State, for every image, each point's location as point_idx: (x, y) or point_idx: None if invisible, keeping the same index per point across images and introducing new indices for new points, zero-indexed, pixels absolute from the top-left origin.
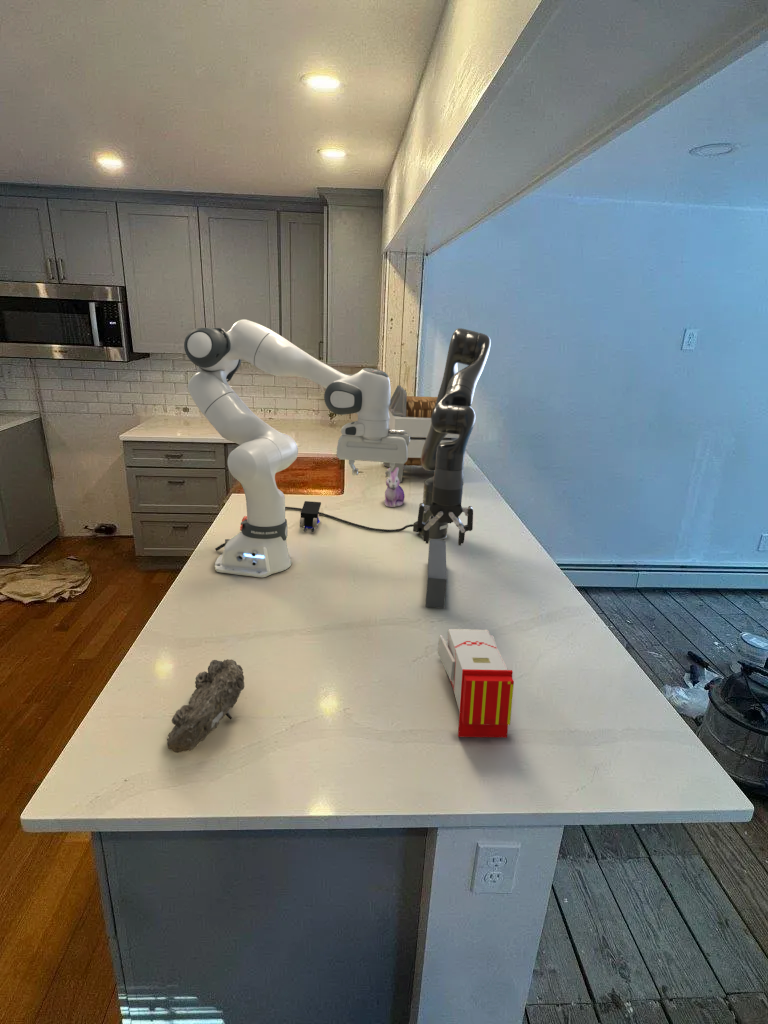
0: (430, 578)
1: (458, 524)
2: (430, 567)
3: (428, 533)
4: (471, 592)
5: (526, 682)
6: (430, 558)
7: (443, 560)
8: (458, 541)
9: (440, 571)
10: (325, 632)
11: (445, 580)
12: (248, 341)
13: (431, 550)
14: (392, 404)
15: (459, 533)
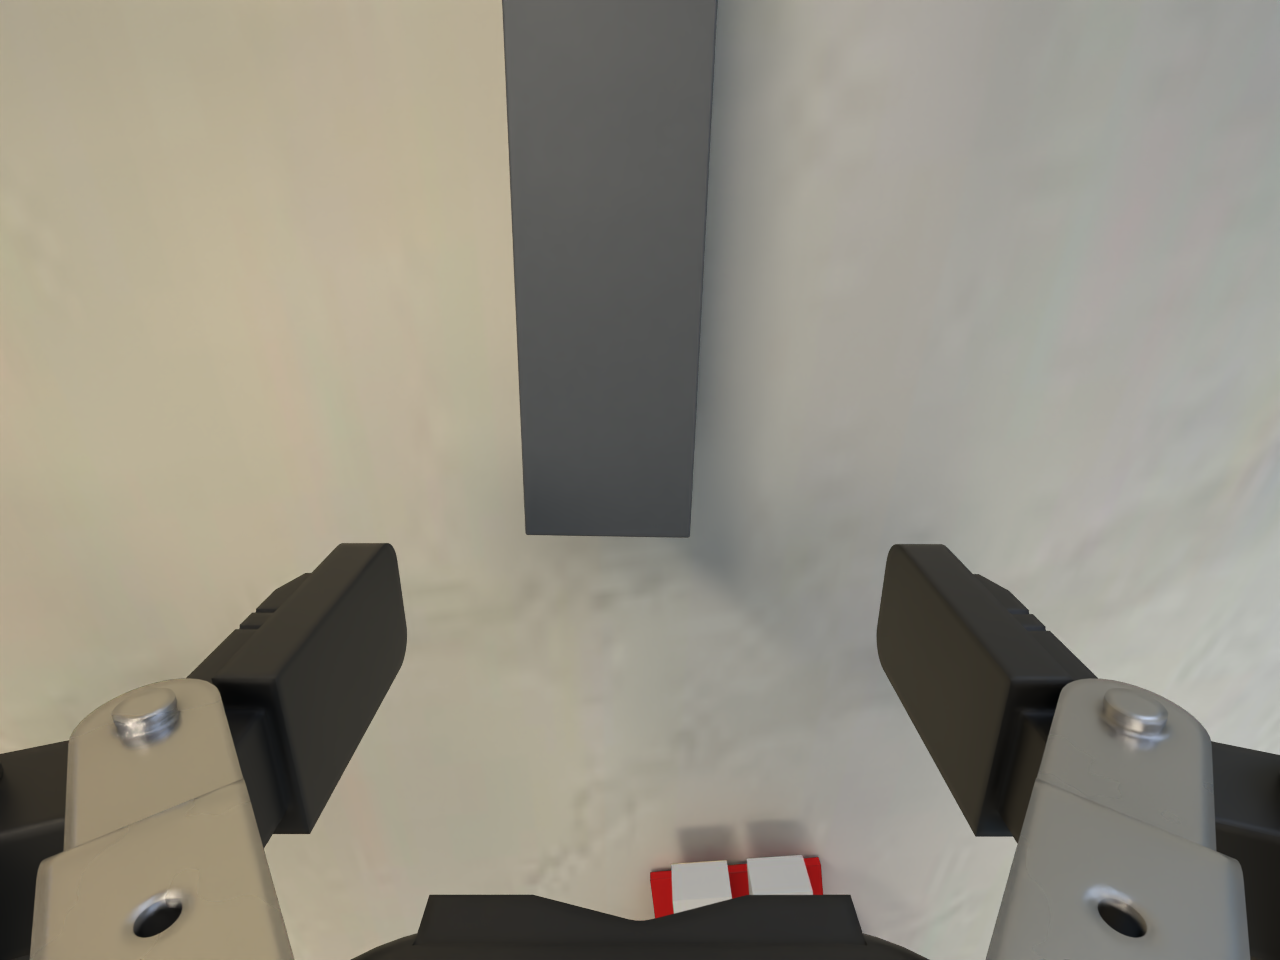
0: (550, 534)
1: None
2: (538, 317)
3: (323, 787)
4: (900, 178)
5: (961, 937)
6: (525, 58)
7: (680, 94)
8: (900, 615)
9: (639, 394)
10: None
11: (680, 533)
12: None
13: None
14: None
15: (968, 787)
